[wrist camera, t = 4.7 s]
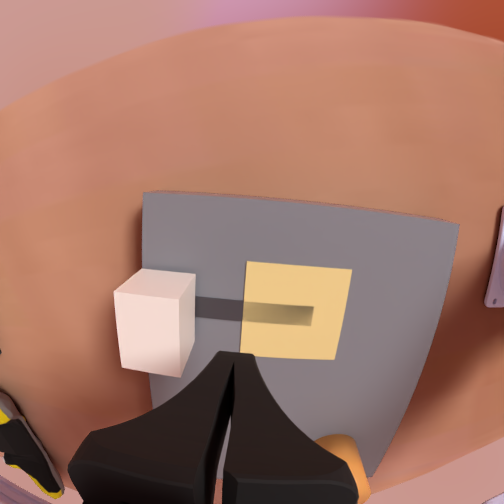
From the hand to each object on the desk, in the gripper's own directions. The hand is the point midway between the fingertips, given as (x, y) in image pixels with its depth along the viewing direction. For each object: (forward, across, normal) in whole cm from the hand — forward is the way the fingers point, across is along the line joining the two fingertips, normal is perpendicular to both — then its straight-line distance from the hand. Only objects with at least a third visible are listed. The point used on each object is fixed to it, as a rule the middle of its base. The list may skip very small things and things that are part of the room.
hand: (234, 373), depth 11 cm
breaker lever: (+6, +4, 0) cm, 7 cm away
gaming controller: (+9, +24, +20) cm, 33 cm away
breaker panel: (+8, -3, +5) cm, 10 cm away
